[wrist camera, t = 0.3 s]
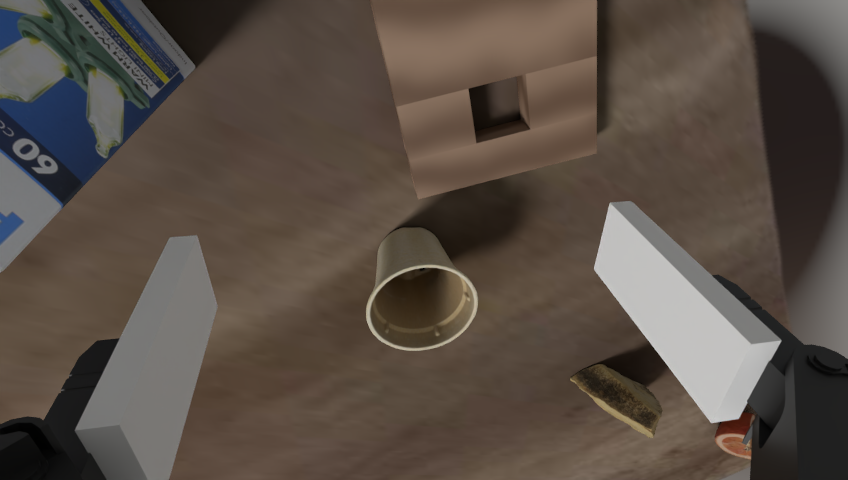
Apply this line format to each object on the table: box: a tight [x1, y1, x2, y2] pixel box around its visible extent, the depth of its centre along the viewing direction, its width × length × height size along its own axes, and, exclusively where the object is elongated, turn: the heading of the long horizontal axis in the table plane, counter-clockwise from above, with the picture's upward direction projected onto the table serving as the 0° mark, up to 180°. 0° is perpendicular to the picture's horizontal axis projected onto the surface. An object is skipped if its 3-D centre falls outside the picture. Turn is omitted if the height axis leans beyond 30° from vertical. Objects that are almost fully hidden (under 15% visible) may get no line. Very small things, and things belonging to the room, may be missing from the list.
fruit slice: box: [715, 412, 755, 460], centre depth 73 cm, size 8×7×5 cm
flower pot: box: [366, 227, 478, 351], centre depth 45 cm, size 9×9×9 cm
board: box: [370, 0, 597, 199], centre depth 37 cm, size 22×16×2 cm
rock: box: [570, 364, 662, 438], centre depth 62 cm, size 11×9×10 cm
